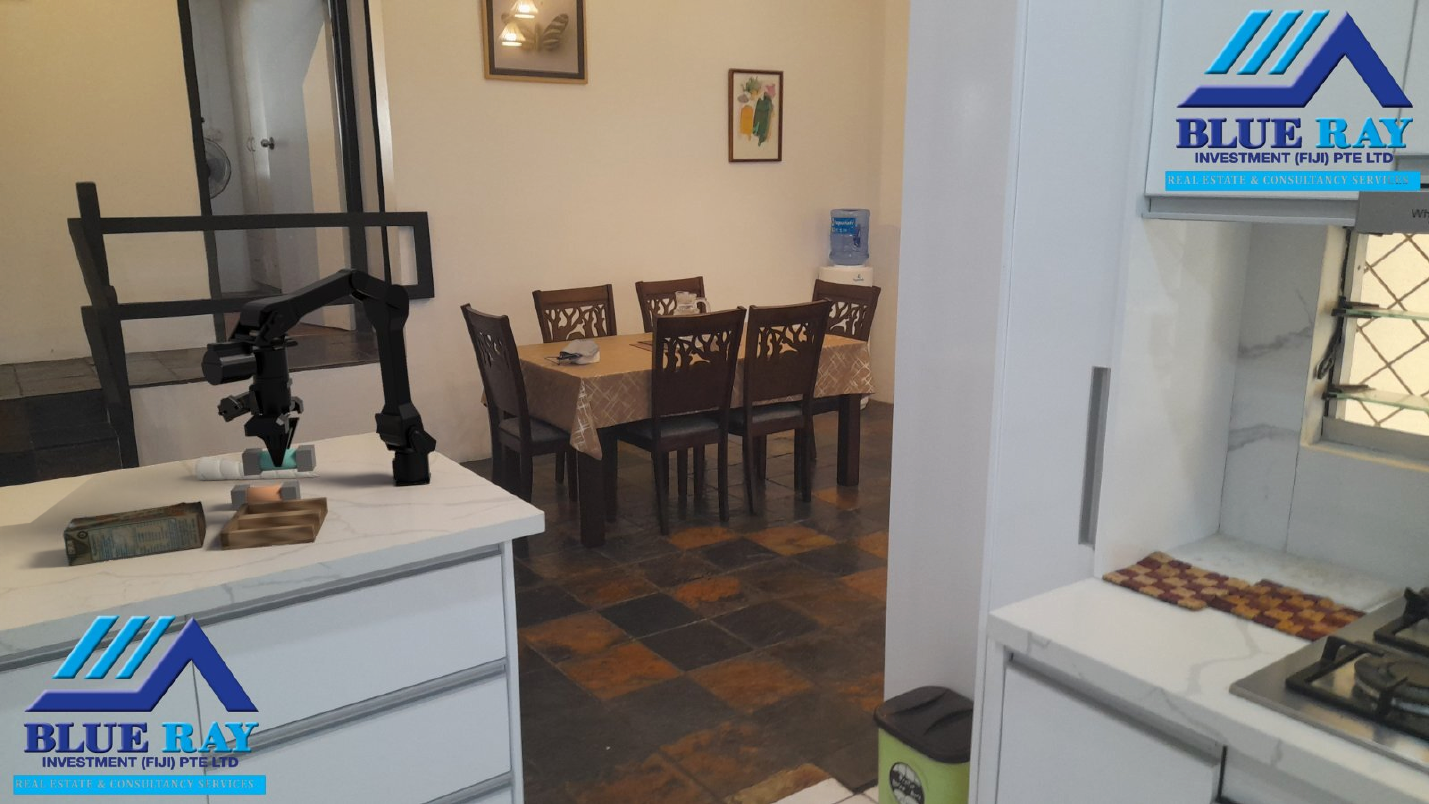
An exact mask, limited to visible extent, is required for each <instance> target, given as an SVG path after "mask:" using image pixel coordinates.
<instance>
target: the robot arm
mask: <svg viewBox="0 0 1429 804" xmlns="http://www.w3.org/2000/svg"><path fill="white" fill-rule="evenodd" d="M347 296H350V297H351V298H353V299H354V300H356V301H358V302H361V303H362V305H363V308H364V312H365V316H366V319H368V321H369V322H370V324H371V326H372V327H373V328H374V330H375V333H376V341H377V349H378V350H377V351H378V358H379V365H380V366H379V367H380V374H381V383H382V391H383V397H384V398H383V399H384V405H383V407H382V409H381V412H377V413H375V414H374V420H375V423H376V431H375V433H376V434H377V435H379V438H380V440H381V441H382V442H384V444H385V447H386V448H387V451H390V452H391V451H392V452H394V453H393V454H394V457H393V458H392V461H391V464H392V477H393V481H395V486H397V487H398V486H399V487H401V486H410V485H414V486H415V485H425V484H427V485H428V484H430V483H431V479H432V472H431V471H430V470H431V469H430V456H429V455H430V454H431V453H433V452H435V451H436V446H437V440H436V439H435V437H433V436H432V435H430V434H429V433H428V432H427V431H426V430H425V428H424V422H423V419H422V416H421V414H420V412H419V410H418V409H417V407H416V406H415V405H414V403H413V401H412V400H413V399H412V395H411V387H410V380H409V379H410V378H409V369H408V362H407V361H408V360H407V354H406V353H407V352H406V343H405V335H404V328H405V325H406V323H407V321H408V318H409V316H410V295H409V291H408V289H406V288H405V287H404V286H403V285H401V284H398V283H390V282H388V281H386V280H383V279H380V278H377V277H375V276H372V275H370V274H368V273H366V272H365V271H362V270H361V269H357V268H340V269H339V270H338V271H336V272H334V273H333V274H331V275H328V276H326V277H324V278H321V279H319V280H316V281H314V282H312V283H310V284H308V285H305V286H303V287H301V288H298V289H296V290H294V291H292V292H290V293H287V294H284V295H277V296H271V297H264V298H260V299H256V300H252V301H248V302H247V303H245V304H243V305H242V307H241V311H240V313H239V319H238V321H237V323H236V325H235V326H234V328H233V330H232V331H231V333H230V335H229V337H228V339H227V341H225V342H209V343H207V344H206V349H207V350H206V351H205V353H204V354H203V357H202V360H201V361H202V362H201V364H200V365H201V372H202V375H203V377H204V379H205V380H206V381H207V382H208V384H210V385H211V386H213V387H215V386H220V385H226V384H232V383H237V382H242V381H243V382H244V381H248V380H250V379H252V382H251V384H250V385H249V386H248V391H245V392H242V393H240V394H238V395H232V394H229V396H226V397H222V398H221V399H220V400H219V401H220V403H219V404H218V405H217V406H216V407H217V409H218V411H217V413H218V414H217V415H218V416H220V417H222V418H223V420H224V421H225V423H229V422H232V421H233V420H234V419H236V418H239V417H241V416H244V415H246V414H249V413H250V416H251V417H250V418H249V419H248V420H247V421H246V423H245V424H243V429H244V430H243V431H244V437H248V438H249V437H250V438H251V437H257V438H258V439H260V440H262V441H263V442H264V444H265V447H266V451H268V452H269V454H270V457H271V459H272V461H273V464H274V466H275V467H281V466H282V464H283V461H284V457H285V453H286V450H287V449H291V445H292V443H293V440H294V437H295V435H296V434H295V433H296V431H297V427H298V424H299V422H300V420H301V417H300V416H297V417H296V416H293V417H292V415H291V413H292V412H297V414H298V415H302V413H303V412H304V410H305V409H304V400H303V399H301V398H300V397H299V396H296V395H295V396H294V395H293V396H292V389H291V386H292V385H293V377H290V371H289V360H288V359H289V358H288V350H287V348H293V347H297V346H298V345H299V342H298V341H297V340H295V339H293V338H292V337H290V335H289V333H288V332H289V331H291V330H292V329H293V328H295V327H297V325H298V323H299V322H300V321H301V319H302V318H304V317H305V316H306V315H308V314H310V313H313V312H315V311H317V310H319V309H321V308H323V307H325V306H329V305H330V304H332V303H334V302H336V301H339V300H340V299H343V298H344V297H347Z"/></svg>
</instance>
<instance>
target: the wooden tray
mask: <svg viewBox="0 0 1429 804" xmlns="http://www.w3.org/2000/svg"><path fill="white" fill-rule="evenodd" d="M328 507H329V506H328V498H327V496H324V497H313V498H311V497H310V498H301V499H296V500H283V501H269V502H256V503H243V504H242V505H241V506H240V508H239V509H238V510H237V511H235V512H234V514H233V516H232V517H231V518H230V520H229V521H228V523H226V525H225V526H224V528H223V529H222V531H221V532H220V533H219V539H220V547H221V551H228V550H229V551H230V550H240V549H253V548H262V547H263V546H264V547H265V546H266V547H273V546H272V545H278V546H285V545H284V544H289V545H298V544H299V545H300V543H301V544H308V543H309V544H310V542H312V543H315V541H316V539H317V537H318V534H319V533H320V530H321V528H322V526H323V523H324V521H325V520H326V517H327V515H328V512H329V511H328ZM316 536H317V537H316Z"/></svg>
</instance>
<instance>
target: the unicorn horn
mask: <svg viewBox="0 0 1429 804" xmlns="http://www.w3.org/2000/svg"><path fill="white" fill-rule="evenodd" d="M195 476H196V478H197V479H198V480H199V481H226V480H228V481H232V480H233V481H234V480H236V481H238V480H237V479H239V480H240V479H241V480H242V479H243V480H275V479H276V478H277V480H278V478H279V479H281V478H282V479H301V478H302V479H305V478H315V477H319V474H317V473H314V472H309V471H307V472H297V469H288V470H273V471H262V473H261V474H260V475H250V476H244V470H243V462H242V461H238V460H233V459H227V458H226V459H225V458H224V459H223V458H222V459H221V458H218V457H217V458H216V457H212V456H211V457H210V456H201V457H200V458H199V459H198V460H197V462H196V465H195Z"/></svg>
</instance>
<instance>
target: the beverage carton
mask: <svg viewBox="0 0 1429 804" xmlns="http://www.w3.org/2000/svg"><path fill="white" fill-rule="evenodd" d="M206 534H207V524H206V517H205V511H204V507H203V503H202V502H201V500H199V501H194V502H180V503H176V504H175V503H174V504H171V505H164V506H158V507H157V506H156V507H151V508H144V509H137V510H131V511H122V512H114V513H108V514H101V515H100V514H99V515H92V516H91V515H90V516H84V517H75V518H71V520H70V522H69V523H68V525H67V527H66V528H65V529H64V530H63V532H62V537H63V542H64V545H65V556H66V559H67V565H68V566H69V567H76V566H81V565H87V564H96V563H97V562H98V563H105V562H110V561H109V560H113V561H118V560H125V559H132V558H137V557H138V558H139V557H145V555H146V556H150V555H151V554H152V555H156V554H164V552H165V553H170V552H177V551H183V550H185V551H186V550H191V549H198V548H203V546H204V543H205V539H206ZM152 555H151V556H152ZM104 561H105V562H104Z"/></svg>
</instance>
